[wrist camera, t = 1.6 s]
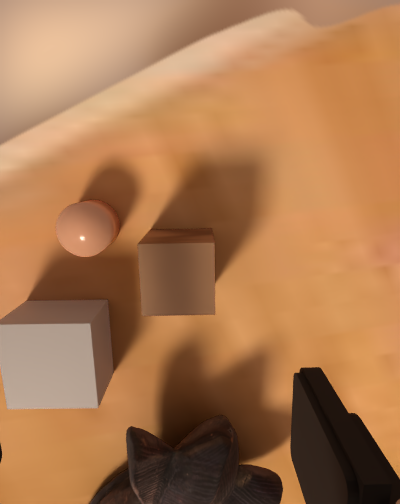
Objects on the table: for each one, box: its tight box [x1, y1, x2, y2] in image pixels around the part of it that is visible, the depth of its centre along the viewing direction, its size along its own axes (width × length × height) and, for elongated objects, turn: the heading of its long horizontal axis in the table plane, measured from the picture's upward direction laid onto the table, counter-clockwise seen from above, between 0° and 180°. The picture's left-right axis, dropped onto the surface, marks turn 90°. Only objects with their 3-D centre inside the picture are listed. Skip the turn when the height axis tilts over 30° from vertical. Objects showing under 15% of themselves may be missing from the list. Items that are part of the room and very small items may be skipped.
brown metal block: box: [138, 228, 215, 316], centre depth 26 cm, size 5×5×6 cm
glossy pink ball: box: [56, 200, 120, 257], centre depth 27 cm, size 4×4×3 cm
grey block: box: [0, 299, 114, 409], centre depth 28 cm, size 7×7×5 cm
